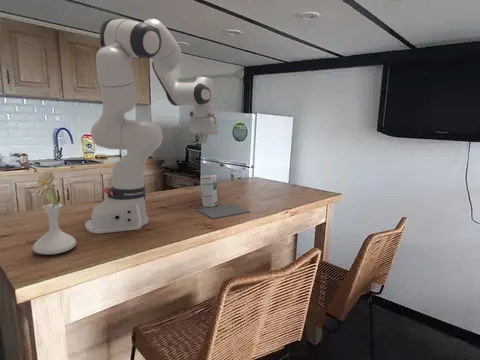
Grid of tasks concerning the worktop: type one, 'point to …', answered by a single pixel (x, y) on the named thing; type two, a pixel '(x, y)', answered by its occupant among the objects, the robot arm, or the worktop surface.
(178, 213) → the worktop surface
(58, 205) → the flower in vase
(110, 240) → the worktop surface
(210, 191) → the syrup box
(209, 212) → the rubber mat
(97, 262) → the worktop surface
